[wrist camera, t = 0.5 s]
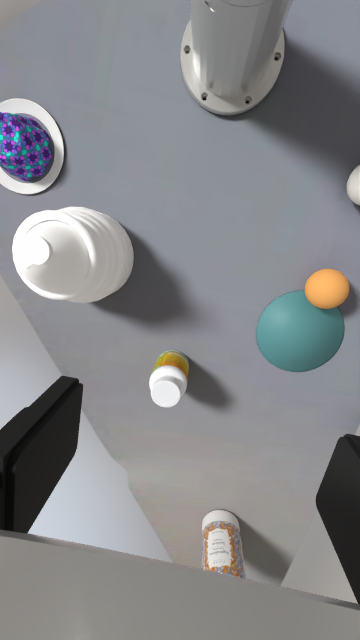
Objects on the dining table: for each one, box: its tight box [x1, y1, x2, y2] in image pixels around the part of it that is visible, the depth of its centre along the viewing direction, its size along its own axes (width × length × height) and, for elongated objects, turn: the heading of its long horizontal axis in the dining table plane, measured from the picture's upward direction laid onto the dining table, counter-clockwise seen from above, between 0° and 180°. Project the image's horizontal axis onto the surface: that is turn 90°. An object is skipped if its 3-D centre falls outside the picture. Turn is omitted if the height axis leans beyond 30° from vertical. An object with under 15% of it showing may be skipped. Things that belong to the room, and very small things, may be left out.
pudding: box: [0, 99, 64, 194], centre depth 39 cm, size 12×12×5 cm
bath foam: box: [202, 510, 246, 579], centre depth 45 cm, size 7×7×20 cm
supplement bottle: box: [149, 350, 189, 407], centre depth 43 cm, size 5×5×10 cm
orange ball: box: [305, 269, 349, 309], centre depth 40 cm, size 6×6×6 cm
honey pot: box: [12, 207, 134, 303], centre depth 35 cm, size 13×13×18 cm
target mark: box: [256, 291, 344, 372], centre depth 44 cm, size 13×13×1 cm
